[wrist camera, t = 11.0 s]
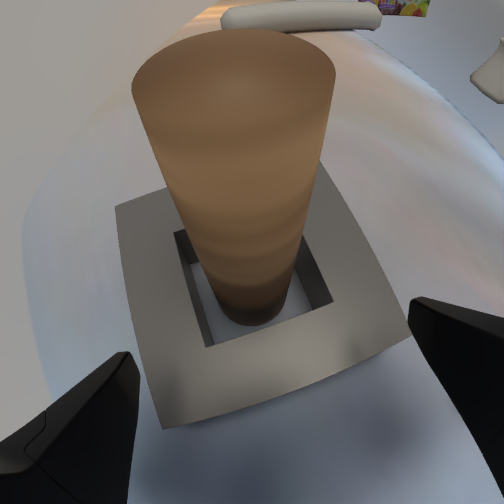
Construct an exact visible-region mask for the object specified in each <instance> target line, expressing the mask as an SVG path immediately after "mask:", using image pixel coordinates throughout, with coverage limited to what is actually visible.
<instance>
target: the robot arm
mask: <svg viewBox="0 0 504 504" xmlns="http://www.w3.org/2000/svg"><path fill="white" fill-rule="evenodd" d="M408 327H409V329H410V331H411V333H412V334H413V336H414V338H415V340H416V342H417V344H418V346H419V348H420V350H421V351H422V353H423V355H424V357H425V359H426V361H427V362H428V364H429V366H430V367H431V369H432V370H433V372H434V373H435V375H436V376H437V378H438V380H439V381H440V383H441V384H442V386H443V387H444V389H445V391H446V392H447V394H448V395H449V397H450V399H451V400H452V402H453V404H454V405H455V407H456V409H457V410H458V412H459V414H460V415H461V417H462V419H463V420H464V422H465V424H466V426H467V427H468V429H469V431H470V433H471V434H472V436H473V438H474V440H475V442H476V443H477V445H478V447H479V449H480V451H481V453H482V454H483V457H484V459H485V461H486V463H487V464H488V466H489V468H490V470H491V472H492V474H493V476H494V478H495V481H496V483H497V485H498V487H499V489H500V491H501V493H502V495H503V497H504V318H502V317H498V316H495V315H491V314H487V313H483V312H479V311H476V310H472V309H468V308H464V307H460V306H456V305H453V304H449V303H445V302H441V301H437V300H434V299H430V298H426V297H417V298H414V299H412V300H411V301H410V304H409V313H408ZM139 391H140V372H139V370H138V368H137V365H136V363H135V361H134V358H133V356H132V354H131V353H130V352H128V351H126V352H117V353H116V354H114V355H113V356H112V357H111V358H109V359H108V360H107V361H106V362H104V363H103V364H102V365H101V366H99V367H98V368H97V369H96V370H94V371H93V372H92V373H91V374H89V375H88V376H87V377H85V378H84V379H83V380H82V381H80V382H79V383H78V384H77V385H75V386H74V387H73V388H72V389H70V390H69V391H68V392H67V393H65V394H64V395H63V396H62V397H60V398H59V399H58V400H57V401H55V402H54V403H53V404H52V405H51V406H49V407H48V408H47V409H46V411H45V410H44V411H43V412H41V413H40V414H39V415H38V416H37V417H35V418H34V419H33V420H31V421H30V422H29V423H27V424H26V425H25V426H23V427H22V428H20V429H19V430H17V431H16V432H14V433H13V434H12V435H10V436H8V437H7V438H6V439H4V440H2V441H1V442H0V504H127V497H128V488H129V479H130V470H131V462H132V455H133V448H134V441H135V434H136V428H137V421H138V410H139Z"/></svg>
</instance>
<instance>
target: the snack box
mask: <svg viewBox="0 0 504 504" xmlns="http://www.w3.org/2000/svg"><path fill="white" fill-rule="evenodd" d="M366 1H369V2H371V3H373V4H375V5H377V7H378V9H379V10H380V12H381V14H382V15H399V16H417V17H426V13H427V10H428V6H429V3H430V0H358V2H366Z"/></svg>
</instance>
